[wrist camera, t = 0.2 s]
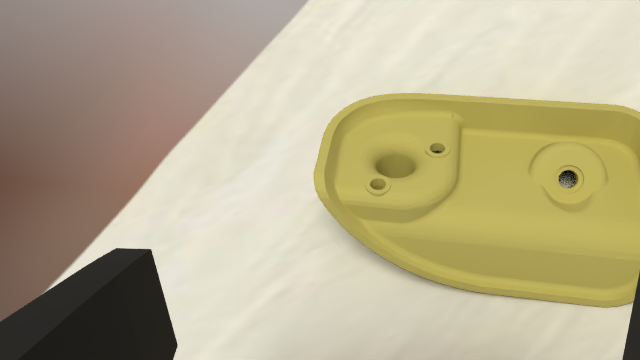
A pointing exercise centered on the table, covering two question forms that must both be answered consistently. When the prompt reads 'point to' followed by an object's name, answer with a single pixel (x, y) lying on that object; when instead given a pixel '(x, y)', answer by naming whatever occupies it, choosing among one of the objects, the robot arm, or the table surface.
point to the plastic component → (491, 192)
